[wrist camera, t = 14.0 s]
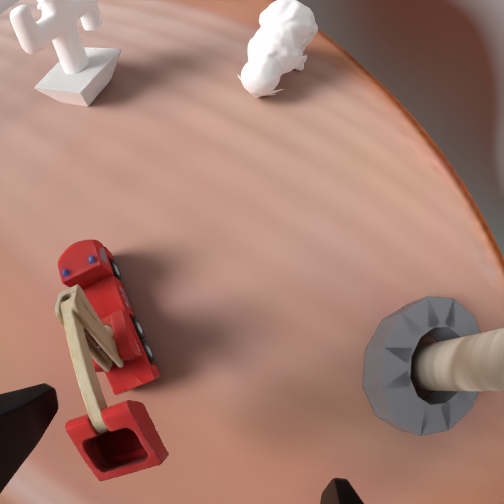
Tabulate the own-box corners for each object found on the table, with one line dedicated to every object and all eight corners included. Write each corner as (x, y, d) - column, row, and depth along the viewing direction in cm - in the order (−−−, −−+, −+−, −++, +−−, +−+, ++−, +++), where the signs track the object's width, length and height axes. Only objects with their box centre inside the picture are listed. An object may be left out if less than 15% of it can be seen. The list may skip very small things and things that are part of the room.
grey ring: (457, 419, 19) (479, 422, 17) (357, 433, 19) (375, 441, 16) (461, 308, 23) (483, 300, 20) (366, 301, 22) (385, 292, 20)
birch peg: (441, 377, 21) (571, 364, 8) (406, 399, 20) (541, 406, 8) (429, 335, 22) (558, 299, 10) (392, 355, 21) (529, 331, 9)
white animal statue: (326, 3, 24) (293, 58, 21) (311, 57, 32) (280, 120, 29) (270, -12, 24) (221, 38, 21) (263, 42, 32) (222, 101, 29)
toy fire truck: (113, 248, 22) (57, 180, 13) (188, 424, 18) (163, 470, 9) (76, 266, 21) (6, 209, 12) (146, 440, 18) (94, 489, 9)
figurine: (133, 68, 29) (113, -46, 15) (84, 126, 26) (34, 0, 12) (87, 64, 29) (59, -35, 15) (39, 117, 26) (-12, 13, 12)
